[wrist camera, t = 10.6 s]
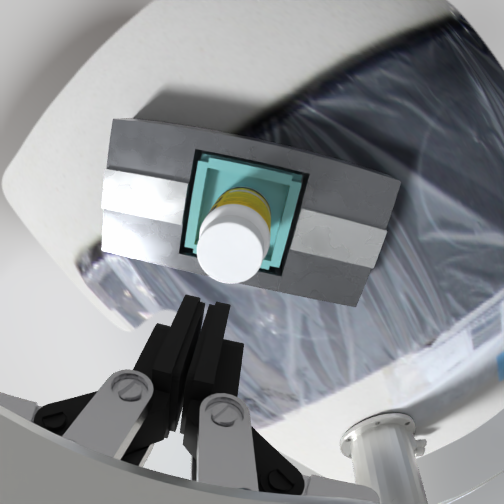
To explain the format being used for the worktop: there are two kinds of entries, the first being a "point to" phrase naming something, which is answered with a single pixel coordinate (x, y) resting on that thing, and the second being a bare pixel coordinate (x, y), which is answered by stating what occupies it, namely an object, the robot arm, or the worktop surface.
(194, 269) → the block
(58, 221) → the worktop surface
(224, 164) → the tray
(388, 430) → the robot arm
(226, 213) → the supplement bottle
